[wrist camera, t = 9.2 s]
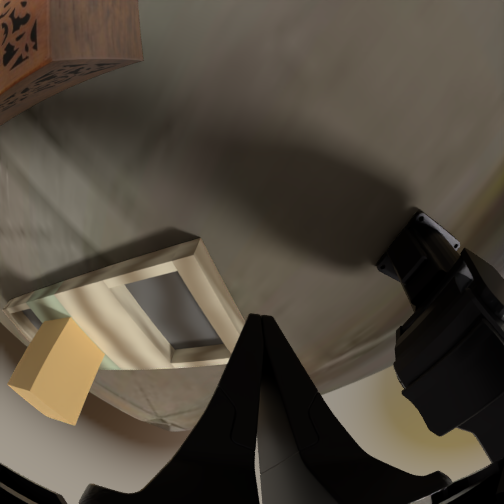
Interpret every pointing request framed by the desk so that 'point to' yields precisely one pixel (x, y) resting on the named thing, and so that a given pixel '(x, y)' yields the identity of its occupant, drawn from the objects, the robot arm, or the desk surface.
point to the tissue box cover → (61, 46)
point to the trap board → (144, 310)
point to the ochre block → (57, 370)
